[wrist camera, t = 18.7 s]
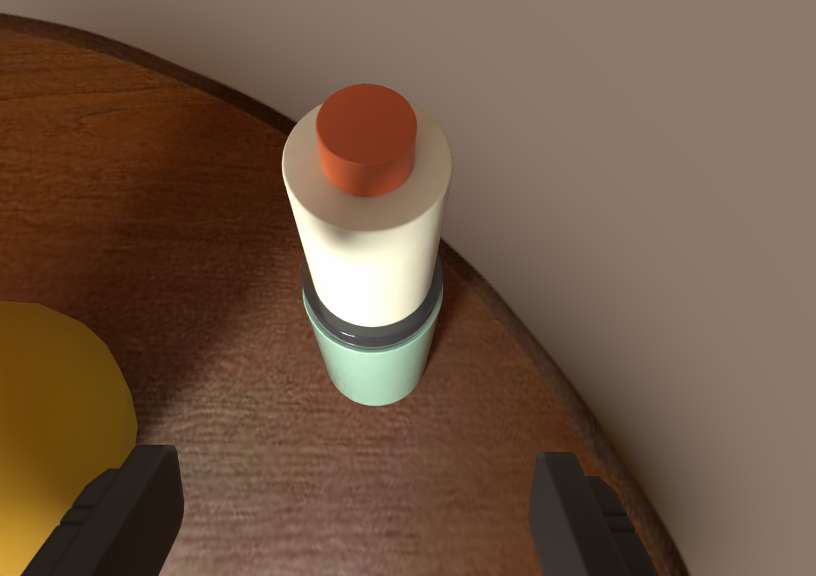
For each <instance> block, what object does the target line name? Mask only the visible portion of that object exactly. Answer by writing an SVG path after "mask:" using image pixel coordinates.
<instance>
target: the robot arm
mask: <svg viewBox="0 0 816 576" xmlns="http://www.w3.org/2000/svg"><path fill="white" fill-rule="evenodd" d="M183 513H184V497H183V490H182V483H181V476H180V469H179V462H178V455H177V450H176V448H175V446H173V445H137V446H135V447H134V448H133V450H132V451H131V453H130V454H129V455H128V457H127V458H126V460H125V461H124V463H123V464H122V466H121V467H120V469H112V468H108V469H107V470H106V471H104V472H103V473H102V474H100V475H99V476H98V477H96V478H95V479H94V480H92V481H91V482H90V483H89V484H87V485H86V486H85V488H84V489H83V490H82V492H81V493H80V494H79V496H78V497H77V498H76V500H75V501H74V503H73V504H72V508H71V509H68V511H67V512H66V514H65V515H64V516H63V518H62V519H61V520H60V524H59V525H57V526H56V527H55V529H54V530H53V531H52V533H51V534H50V535H49V537H48V538H47V540H46V541H45V542H44V544H43V545H42V546H41V548H40V549H39V550H38V552H37V553H36V555H35V556H34V557H33V559H32V560H31V561H30V563H29V564H28V565H27V567H26V568H25V570H24V571H23V572H22V574H21V575H20V576H158V575H159V573H160V571H161V569H162V567H163V564H164V562H165V560H166V558H167V556H168V554H169V551H170V549H171V547H172V545H173V543H174V541H175V538H176V536H177V534H178V532H179V530H180V527H181V523H182V519H183ZM529 519H530V529H531V534H532V538H533V541H534V545H535V548H536V552H537V555H538V559H539V562H540V566H541V569H542V573H543V576H659V575H658V573H657V571H656V569H655V567H654V565H653V563H652V561H651V559H650V557H649V555H648V553H647V551H646V549H645V547H644V545H643V544H642V542H641V540H640V538H639V536H638V534H637V533H635V528H634V526H633V524H632V522H631V520H630V518H629V517H627V512H626V511H625V509H624V507H623V505H622V503H621V501H620V499H619V497H618V495H617V493H616V492H615V491H614V490H613V489H611V488H610V487H609V486H608V485H607V484H606V483H605V482H604V481H603V480H602V479H601V478H600V477H598V476H585V475H584V472H583V470H582V468H581V466H580V464H579V462H578V459H577V457H576V455H575V454H574V453H572V452H539V453H538V455H537V459H536V466H535V472H534V479H533V486H532V493H531V500H530V508H529Z"/></svg>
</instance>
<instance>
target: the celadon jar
mask: <svg viewBox="0 0 816 576" xmlns="http://www.w3.org/2000/svg"><path fill="white" fill-rule="evenodd" d="M301 276H302V286H303V300H304V305H305V308H306V311H307V314H308V317H309V319H310V322H311V325H312V328H313V331H314V333H315V336H316V339H317V342H318V345H319V347H320V350H321V353H322V356H323V359H324V362H325V364H326V367H327V370H328V373H329V375H330V378H331V380H332V381H333V383H334V384H335V386H336V387H337V388H338V389H339V391H340V392H341V393H343V394H344V395H345V396H346V397H348V398H350V399H351V400H353V401H356V402H358V403H361V404H365V405H372V406H379V405H386V404H390V403H393V402H396V401H398V400H400V399H402V398H404V397H405V396H406V395H408V394H409V393H410V392H411V391H412V390H413V389H414V388H415V387H416V386H417V384H418V383H419V381H420V380H421V378H422V376H423V373H424V370H425V366H426V362H427V358H428V355H429V351H430V347H431V343H432V339H433V335H434V331H435V327H436V323H437V319H438V315H439V311H440V307H441V303H442V298H443V267H442V261H441V258H440V255H439V252H438V251H437V257H436V262H435V267H434V272H433V277H432V282H431V286H430V289H429V292H428V294H427V296H426V298H425V299H424V301H423V302H422V303H421V305H420V306H419V307H418V308H417V309H416V310H415V311H414V312H413V313H411V314H410V315H409V316H407V317H406V318H404V319H402V320H400V321H398V322H395V323H392V324H389V325H385V326H377V327H367V326H359V325H356V324H352V323H349V322H347V321H344V320H342V319H341V318H339V317H337V316H336V315H335V314H333V313H332V312H331V311H330V310H329V309H328V308H327V307H326V306H325V305H324V304H323V302H322V301H321V300H320V298H319V296H318V294H317V292H316V289H315V286H314V283H313V279H312V276H311V272H310V269H309V266H308V262H307V259H306V255H305V257H304V261H303V265H302V274H301Z"/></svg>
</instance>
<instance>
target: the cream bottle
mask: <svg viewBox="0 0 816 576" xmlns="http://www.w3.org/2000/svg"><path fill="white" fill-rule="evenodd" d="M452 172H453V157H452V151H451V147H450V144H449V142H448V140H447V138H446V135H445V134H444V132H443V130H442V129H441V127H440V126H439V124H438V123H437V122H436V121H435V120H434V119H433V118H432V117H431V116H430V115H429V114H428V113H427V112H425V111H424V110H423V109H421V108H420V107H418V106H416V105H415V104H413V103H411V102H409V101H407V100H406V99H405V98H403V97H402V96H401V95H400V94H398V93H397V92H395V91H393V90H391V89H389V88H386V87H383V86H379V85H372V84H360V85H353V86H349V87H346V88H344V89H341V90H339V91H337V92H336V93H334V94H333V95H331V96H330V97H329V98H328V99H327V100H326V101H325V102H324V103H322V104H320V105H319V106H317V107H315V108H314V109H312V110H311V111H310V112H308V113H307V114H306V115H305V116H304V117H303V118H302V119H301V120H300V121H299V122H298V123H297V124H296V126H295V127H294V128H293V130H292V132H291V133H290V135H289V137H288V139H287V142H286V144H285V147H284V151H283V157H282V173H283V177H284V182H285V185H286V189H287V192H288V196H289V199H290V203H291V206H292V210H293V213H294V217H295V220H296V224H297V227H298V231H299V234H300V238H301V241H302V245H303V248H304V252H305V255H306V259H307V262H308V266H309V269H310V272H311V276H312V279H313V283H314V286H315V289H316V292H317V294H318V296H319V298H320V300H321V301H322V302H323V304H324V305H325V306H326V307H327V308H328V309H329V310H330V311H331V312H332V313H333V314H335V315H336V316H337V317H339V318H341V319H342V320H344V321H347V322H349V323H352V324H356V325H359V326H367V327H377V326H385V325H389V324H392V323H395V322H398V321H400V320H402V319H404V318H406V317H407V316H409V315H410V314H411V313H413V312H414V311H415V310H416V309H417V308H418V307H419V306H420V305H421V303H422V302H423V301H424V299H425V298H426V296H427V294H428V292H429V289H430V286H431V282H432V277H433V272H434V267H435V262H436V257H437V251H438V246H439V241H440V236H441V231H442V225H443V220H444V215H445V210H446V204H447V199H448V194H449V189H450V183H451V178H452Z"/></svg>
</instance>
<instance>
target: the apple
mask: <svg viewBox="0 0 816 576" xmlns="http://www.w3.org/2000/svg"><path fill="white" fill-rule="evenodd" d="M137 428H138V424H137V419H136V414H135V409H134V405H133V400H132V395H131V392H130V390H129V388H128V385H127V383H126V381H125V379H124V377H123V375H122V372H121V370H120V368H119V366H118V364H117V362H116V361H115V359H114V357H113V355H112V354H111V352H110V350H109V348H108V347H107V345H106V344H105V343H104V342H103V341H102V340H101V339H100V338H99V337H98V336H97V335H96V334H95V333H94V332H93V331H91V330H90V329H89V328H88V327H87V326H86V325H85V324H84V323H82V322H80V321H77V320H75V319H73V318H71V317H68V316H66V315H64V314H62V313H59V312H57V311H55V310H53V309H50V308H48V307H46V306H44V305H41V304H39V303H23V302H11V301H0V576H20V575H21V574H22V572H23V571H24V570H25V568H26V567H27V565H28V564H29V563H30V561H31V560H32V559H33V557H34V556H35V555H36V553H37V552H38V550H39V549H40V548H41V546H42V545H43V544H44V542H45V541H46V540H47V538H48V537H49V535H50V534H51V533H52V531H53V530H54V529H55V527H56V526H57V525H59V524H60V520H61V519H62V518H63V516H64V515H65V514H66V512H67V511H68V509H71V508H72V504H73V503H74V501H75V500H76V498H77V497H78V496H79V494H80V493H81V492H82V490H83V489H84V488H85V486H86V485H87V484H89V483H90V482H91V481H92V480H94V479H95V478H96V477H98V476H99V475H100V474H102V473H103V472H104V471H106V470H107V469H108V468H112V469H120V467H121V466H122V464H123V463H124V461H125V460H126V458H127V457H128V455H129V454H130V453H131V451H132V450H133V448H134V447H135V444H136V436H137Z"/></svg>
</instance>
